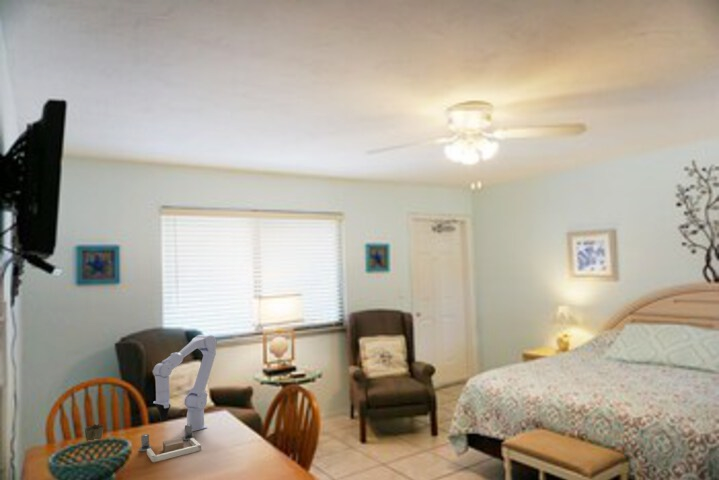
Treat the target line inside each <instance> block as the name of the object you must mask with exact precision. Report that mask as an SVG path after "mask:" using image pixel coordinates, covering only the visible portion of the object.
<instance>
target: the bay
mask: <svg viewBox="0 0 719 480" xmlns="http://www.w3.org/2000/svg"><path fill="white" fill-rule="evenodd" d="M189 444H190V445H191V446H188V447H184V448H183V449H179V450H175V451H171V452H167V453H164V452H163V453H159V454H155V452H154V451H153V448H152V449H151V448H149V449H147V451H146V455H147V456H148V458H149V459H150V461H151V462H152V463H156V462H161V461H164V460H168V459H173V458H176V457H179V456H183V455H187V454H190V453H191V454H192V453H195V452H200V451H202V445H201V444H200V443H199V441H197V440H196V439H194V438H191V439H190V441H189Z"/></svg>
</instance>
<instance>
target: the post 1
mask: <svg viewBox="0 0 719 480" xmlns="http://www.w3.org/2000/svg"><path fill="white" fill-rule="evenodd" d="M140 438H141V440H140V441H141V447H139V448H138V452H139V451H140V453H145V452H146V453H147V449H149V448H151V449H152V450H153V446H152V445H150V434H148V433H145V434H142V435H140Z"/></svg>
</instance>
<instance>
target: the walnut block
mask: <svg viewBox="0 0 719 480" xmlns="http://www.w3.org/2000/svg"><path fill="white" fill-rule="evenodd" d="M184 443H185V441H183V438H181V437H176V438H172V439H167V440H163V441H162V451H163V453H167V452H171V451H175V450H179V449H183V448H185V445H184Z"/></svg>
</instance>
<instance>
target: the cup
mask: <svg viewBox="0 0 719 480" xmlns="http://www.w3.org/2000/svg"><path fill="white" fill-rule="evenodd" d="M103 433H104V424H103V423H102V424H101V425H100V424H99V423H98V424H97V423H95V424H93V425H90V426H86V427H85V428H84V436H85V439H86V441H87V442H88V440H94V439H100V440H101V439H102V437H103V435H104V434H103Z"/></svg>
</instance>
